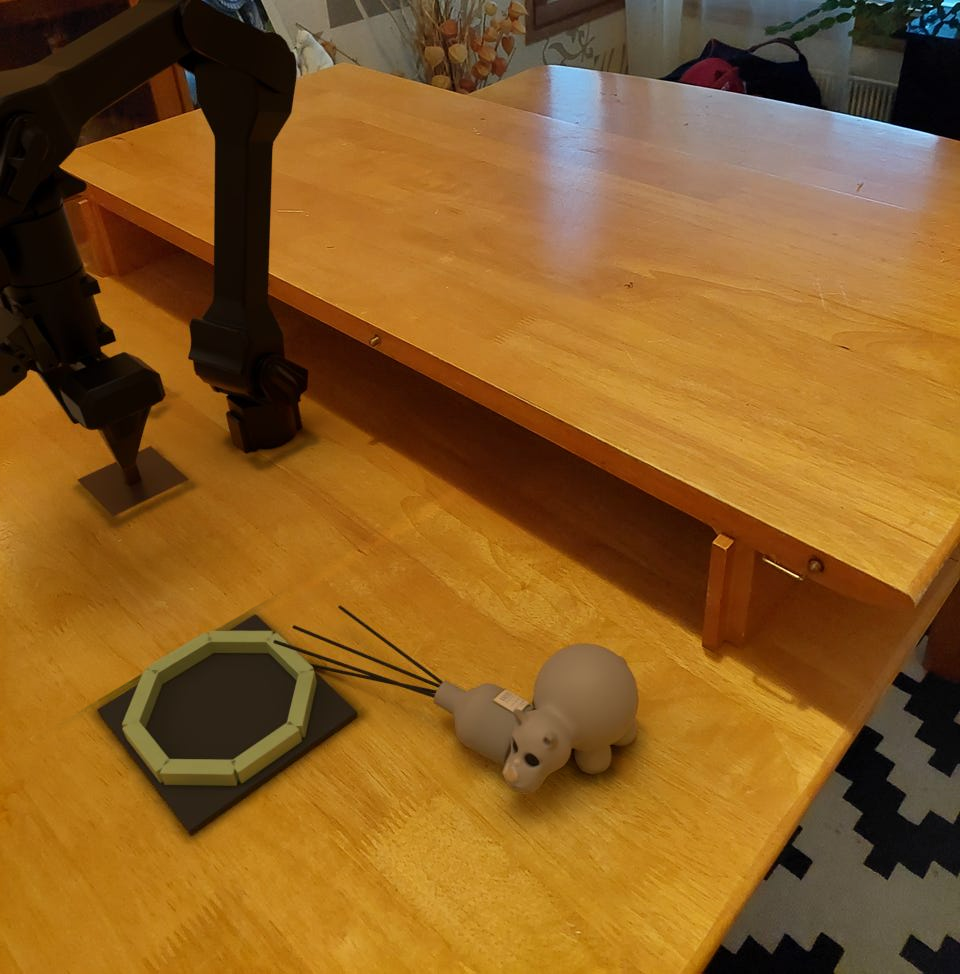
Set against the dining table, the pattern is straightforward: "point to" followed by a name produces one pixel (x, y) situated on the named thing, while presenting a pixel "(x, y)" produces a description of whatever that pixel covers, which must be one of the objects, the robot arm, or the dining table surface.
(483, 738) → the reed diffuser
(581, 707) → the round bodied animal figurine
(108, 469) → the stand
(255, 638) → the ring
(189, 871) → the dining table surface
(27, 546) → the dining table surface
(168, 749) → the mat
